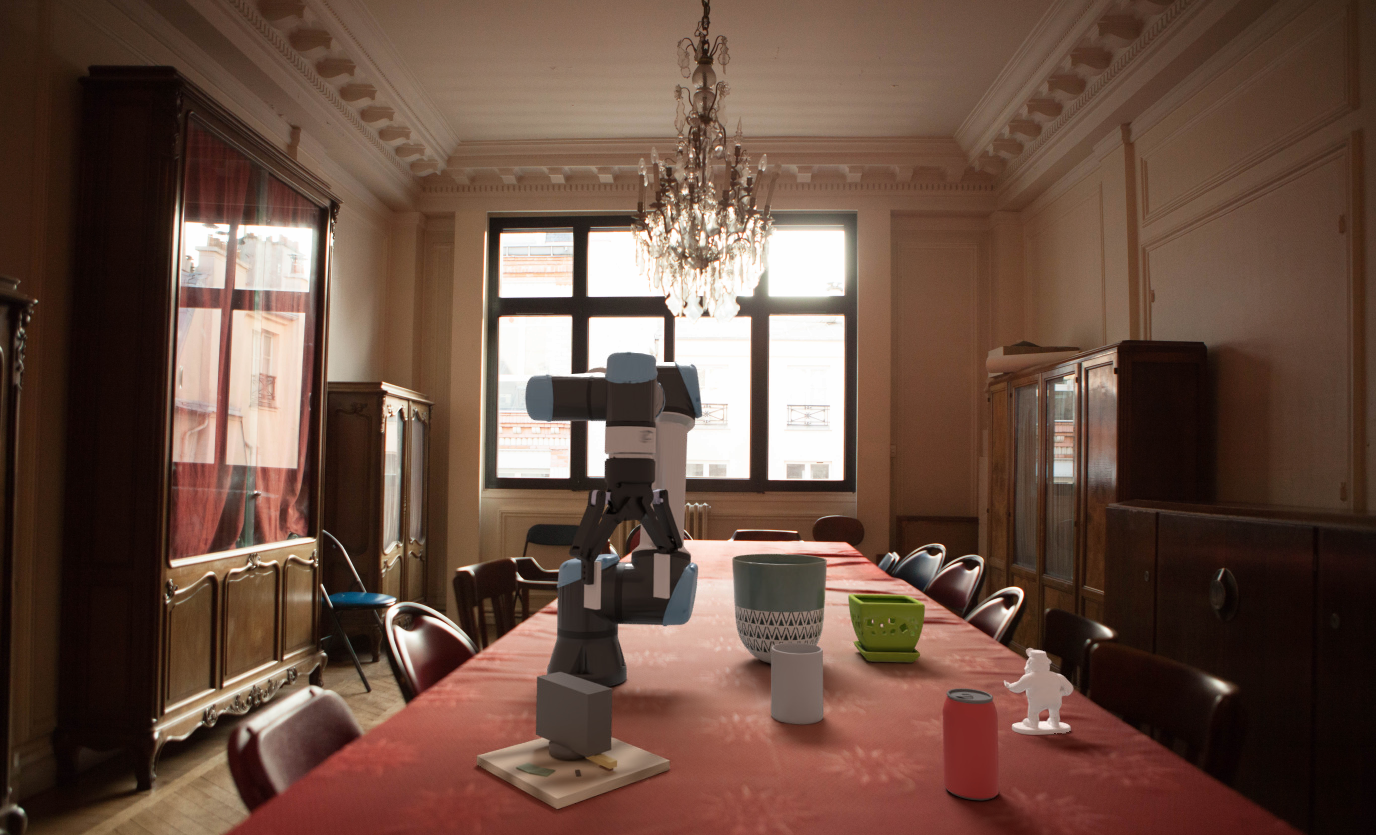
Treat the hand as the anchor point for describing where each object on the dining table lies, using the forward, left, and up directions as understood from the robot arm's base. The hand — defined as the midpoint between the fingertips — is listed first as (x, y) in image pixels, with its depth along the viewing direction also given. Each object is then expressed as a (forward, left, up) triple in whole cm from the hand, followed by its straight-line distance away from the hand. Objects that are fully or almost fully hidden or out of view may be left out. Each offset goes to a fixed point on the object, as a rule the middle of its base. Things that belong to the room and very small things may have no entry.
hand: (628, 602), depth 114 cm
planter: (-18, +56, -21) cm, 62 cm away
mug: (+6, +31, -21) cm, 38 cm away
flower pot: (-5, +76, -21) cm, 79 cm away
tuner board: (+1, -10, -21) cm, 23 cm away
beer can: (+41, +22, -21) cm, 51 cm away
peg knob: (+1, -9, -19) cm, 21 cm away
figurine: (+37, +53, -21) cm, 68 cm away
